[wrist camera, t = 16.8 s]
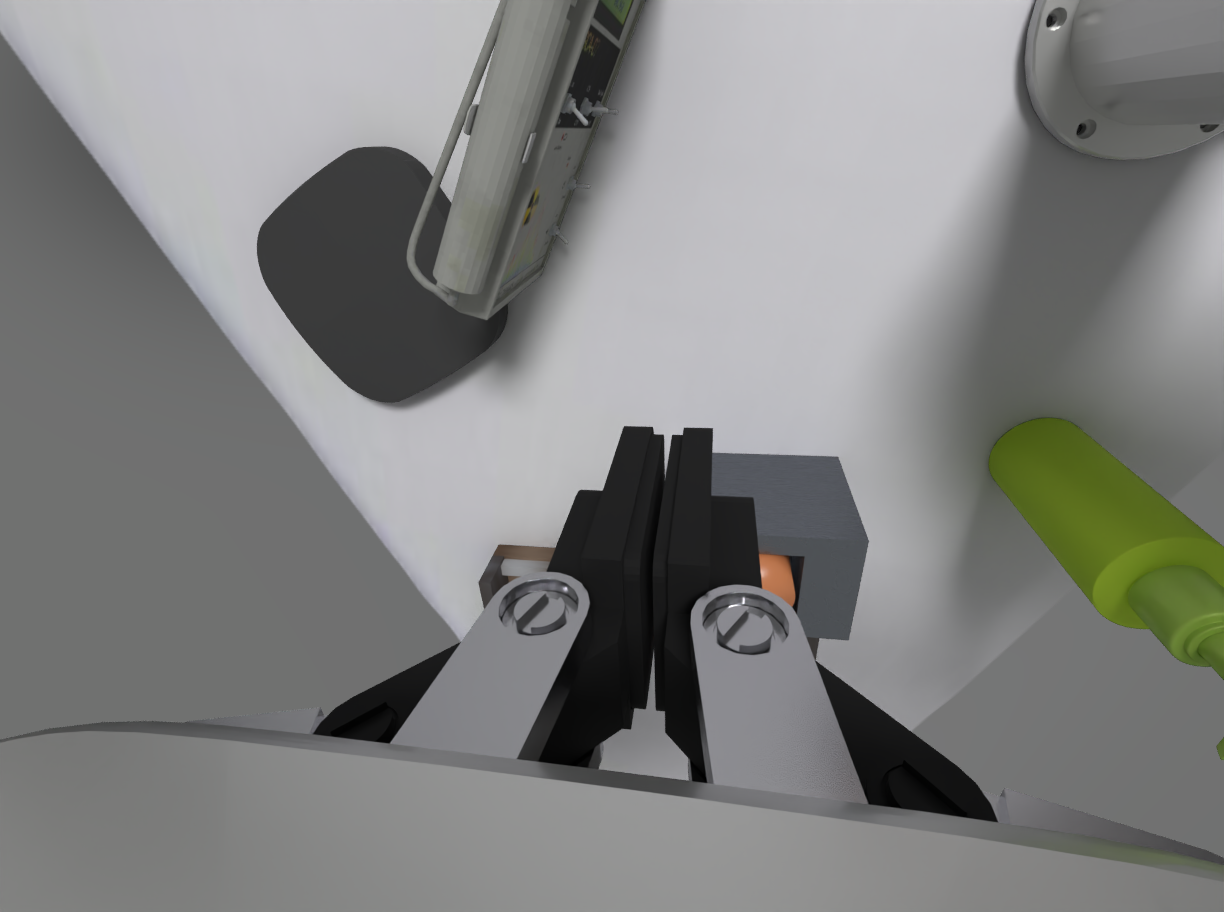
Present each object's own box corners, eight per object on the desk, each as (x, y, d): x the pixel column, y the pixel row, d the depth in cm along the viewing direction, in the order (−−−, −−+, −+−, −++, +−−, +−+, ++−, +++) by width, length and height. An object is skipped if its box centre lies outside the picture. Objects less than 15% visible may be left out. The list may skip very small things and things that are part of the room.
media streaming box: (531, 322, 41) (518, 335, 38) (387, 406, 46) (368, 422, 44) (400, 119, 36) (376, 118, 33) (256, 240, 41) (226, 248, 39)
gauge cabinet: (837, 456, 42) (868, 541, 33) (823, 549, 46) (847, 645, 37) (672, 451, 44) (661, 529, 35) (672, 541, 48) (662, 630, 39)
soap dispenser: (986, 508, 42) (1171, 771, 25) (990, 424, 39) (1205, 657, 22) (1079, 499, 40) (1347, 771, 23) (1092, 411, 37) (1410, 649, 20)
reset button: (791, 528, 37) (798, 570, 34) (785, 580, 40) (791, 625, 36) (722, 524, 38) (723, 565, 35) (720, 575, 40) (720, 619, 37)
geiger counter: (482, 356, 27) (776, -483, 14) (357, 295, 27) (548, -631, 14) (553, 286, 39) (748, -205, 26) (468, 243, 39) (625, -279, 26)
